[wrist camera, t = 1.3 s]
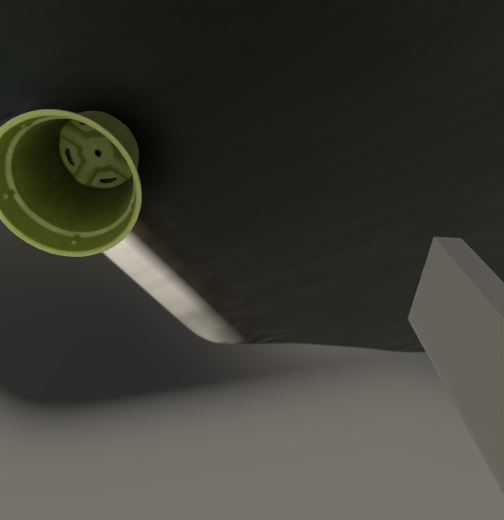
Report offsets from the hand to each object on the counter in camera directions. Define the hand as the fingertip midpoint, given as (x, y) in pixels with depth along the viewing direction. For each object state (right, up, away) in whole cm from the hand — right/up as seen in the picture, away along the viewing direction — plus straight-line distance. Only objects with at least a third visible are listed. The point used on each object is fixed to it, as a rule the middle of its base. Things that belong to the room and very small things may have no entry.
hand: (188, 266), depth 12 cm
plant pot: (-10, +9, +23) cm, 27 cm away
